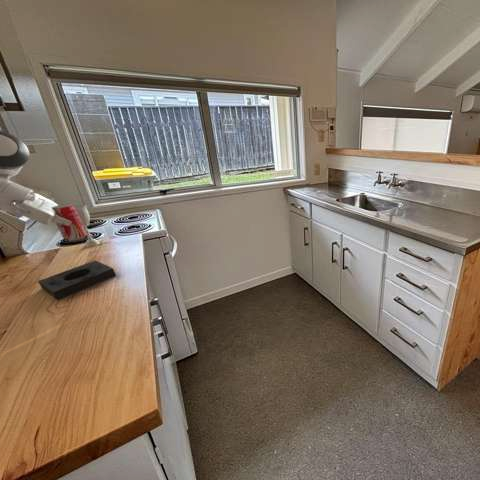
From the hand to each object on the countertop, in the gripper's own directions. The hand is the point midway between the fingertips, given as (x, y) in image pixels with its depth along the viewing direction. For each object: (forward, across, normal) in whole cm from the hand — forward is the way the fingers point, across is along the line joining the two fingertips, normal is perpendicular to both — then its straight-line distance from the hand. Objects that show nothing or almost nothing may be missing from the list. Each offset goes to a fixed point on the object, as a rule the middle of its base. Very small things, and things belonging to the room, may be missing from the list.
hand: (71, 221), depth 89 cm
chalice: (+14, +32, +13) cm, 38 cm away
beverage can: (+4, 0, +5) cm, 7 cm away
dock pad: (+11, -8, +16) cm, 21 cm away
